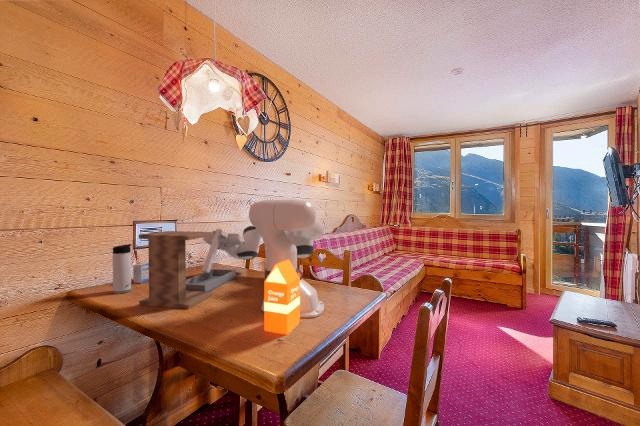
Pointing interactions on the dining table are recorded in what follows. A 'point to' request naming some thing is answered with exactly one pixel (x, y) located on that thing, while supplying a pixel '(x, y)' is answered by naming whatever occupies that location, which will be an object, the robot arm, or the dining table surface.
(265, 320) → the orange juice
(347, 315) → the dining table surface
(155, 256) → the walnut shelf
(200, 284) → the blue-gray tray
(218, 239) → the bar
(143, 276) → the medicine box
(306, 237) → the robot arm
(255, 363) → the dining table surface
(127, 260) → the travel mug
